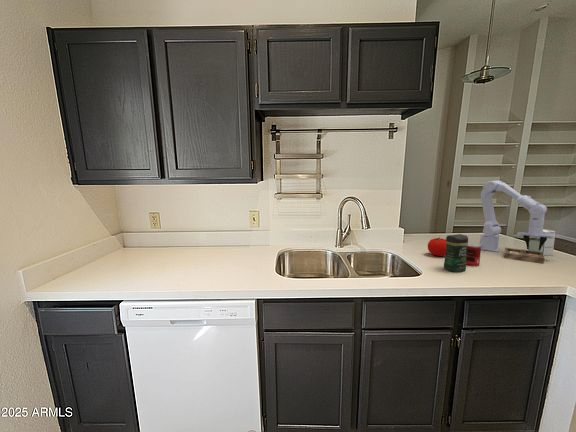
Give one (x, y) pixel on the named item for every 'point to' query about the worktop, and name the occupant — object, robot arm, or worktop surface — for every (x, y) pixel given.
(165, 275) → the worktop surface
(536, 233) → the robot arm
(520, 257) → the socket board
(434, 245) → the tomato
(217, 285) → the worktop surface
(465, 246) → the coffee jar
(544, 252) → the syrup box
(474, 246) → the canned food
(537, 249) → the grey-green block
